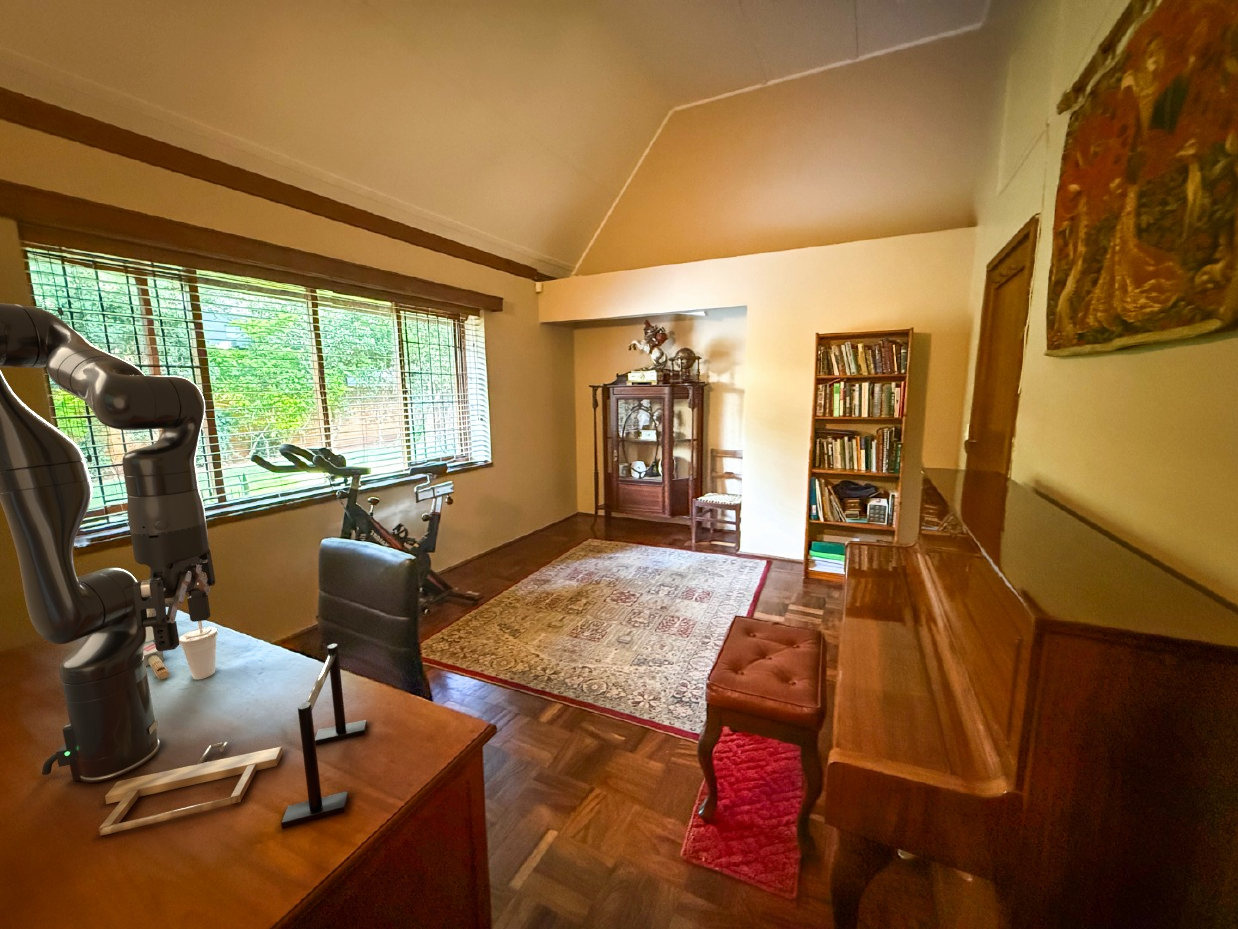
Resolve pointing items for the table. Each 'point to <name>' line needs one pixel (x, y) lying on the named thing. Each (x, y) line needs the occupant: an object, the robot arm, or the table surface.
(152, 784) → the hanger
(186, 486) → the robot arm
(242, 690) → the table surface
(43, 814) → the table surface
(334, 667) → the rail stand
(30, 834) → the table surface
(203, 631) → the smoothie
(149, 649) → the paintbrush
